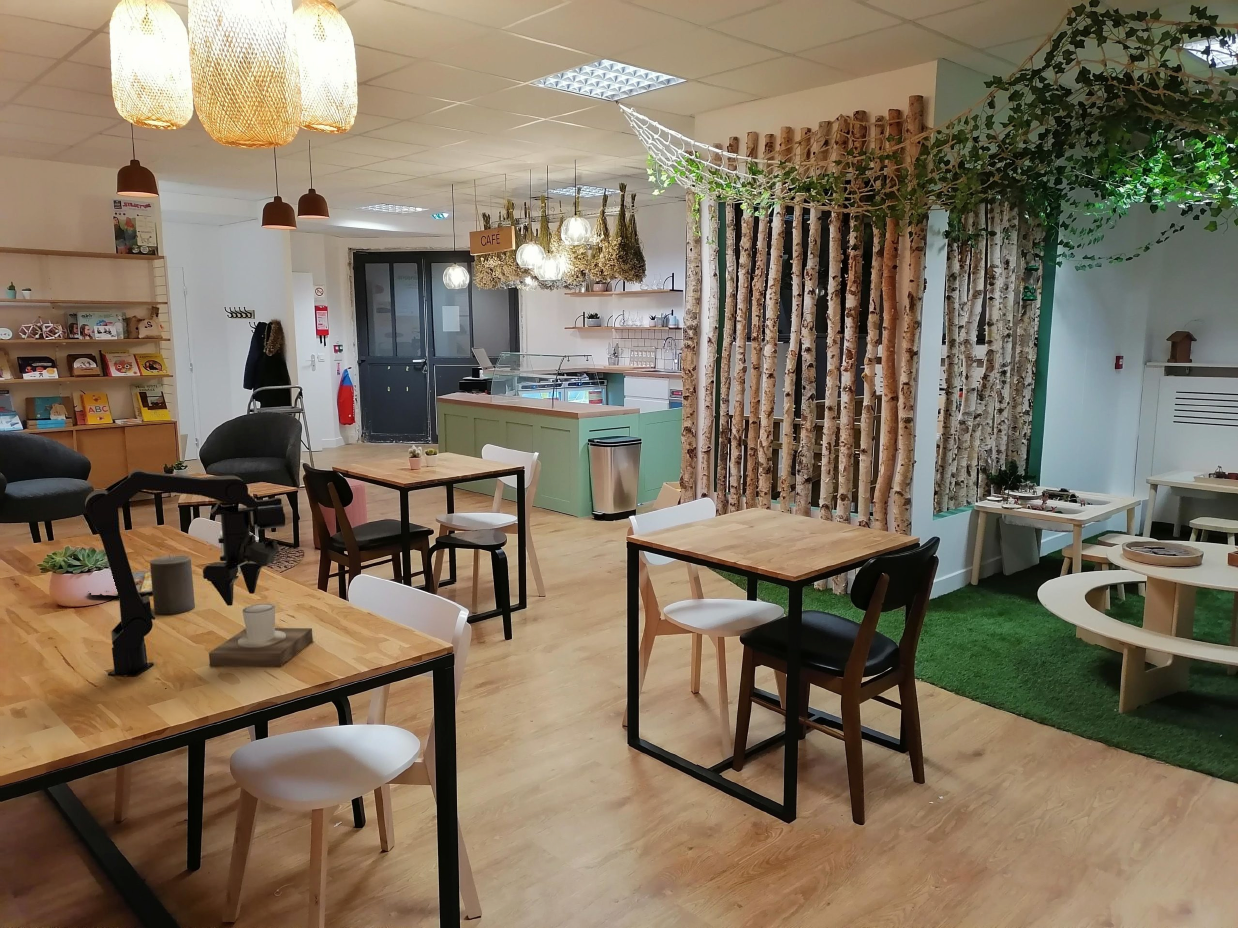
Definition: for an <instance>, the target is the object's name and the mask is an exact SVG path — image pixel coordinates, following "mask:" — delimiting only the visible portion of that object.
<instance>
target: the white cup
mask: <svg viewBox="0 0 1238 928" xmlns="http://www.w3.org/2000/svg"><path fill="white" fill-rule="evenodd" d="M242 616H243V622H244V625H245V628H246V632H247V637H248V641H250V642H263V641H267V640H270V639H273V638H274V637H275V628H276V605H275V604H271V603H260V604H253V605H250V606H245V607H244V608H243V609H242Z"/></svg>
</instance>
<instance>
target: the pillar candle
mask: <svg viewBox="0 0 1238 928" xmlns="http://www.w3.org/2000/svg"><path fill="white" fill-rule="evenodd" d="M149 566H150V570H151V581H152V592H151V593H152V598H153V599H152V601H153V612H154V614H155V615H161V616H171V615H177V614H181V613H182V614H183V613H187V612H189V611H192V610H193V609H195V606H196V603H195V592H194V589H195V588H194V580H193V568H192V557H191V556H189V555H180V554H179V555H177V554H176V555H170V554H168V555H167V556H161V557H157V558H153V559H151V560H150V562H149Z"/></svg>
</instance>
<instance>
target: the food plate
mask: <svg viewBox="0 0 1238 928" xmlns="http://www.w3.org/2000/svg"><path fill="white" fill-rule="evenodd" d="M132 574H133V578H134V581H135V584H136V588H137V590H138V592H139V591H140V592H139V594H140V595H143V594H145V595H147V594H149V593H152V581H151V569H150V570H138V571H132ZM139 584H140V585H139ZM115 595H118V593H115Z"/></svg>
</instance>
